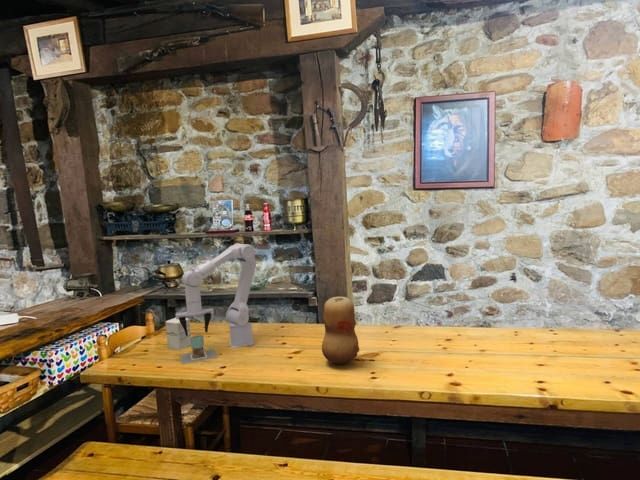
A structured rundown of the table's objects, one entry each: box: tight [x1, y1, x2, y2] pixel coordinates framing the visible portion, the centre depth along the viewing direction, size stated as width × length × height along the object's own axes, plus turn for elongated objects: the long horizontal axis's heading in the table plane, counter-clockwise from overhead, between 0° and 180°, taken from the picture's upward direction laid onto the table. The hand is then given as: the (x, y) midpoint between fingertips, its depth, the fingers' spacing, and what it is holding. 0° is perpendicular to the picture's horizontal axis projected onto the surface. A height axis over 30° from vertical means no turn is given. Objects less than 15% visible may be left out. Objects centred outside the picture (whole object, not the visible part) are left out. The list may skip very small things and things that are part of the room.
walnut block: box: [191, 345, 205, 359], centre depth 171 cm, size 4×4×4 cm
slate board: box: [179, 348, 219, 365], centre depth 172 cm, size 14×11×1 cm
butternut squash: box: [321, 296, 360, 365], centre depth 157 cm, size 14×13×25 cm
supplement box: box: [165, 317, 192, 351], centre depth 183 cm, size 7×7×13 cm
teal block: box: [190, 334, 205, 350], centre depth 171 cm, size 4×4×4 cm
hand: (196, 333), depth 171 cm, fingers open, 7 cm apart
